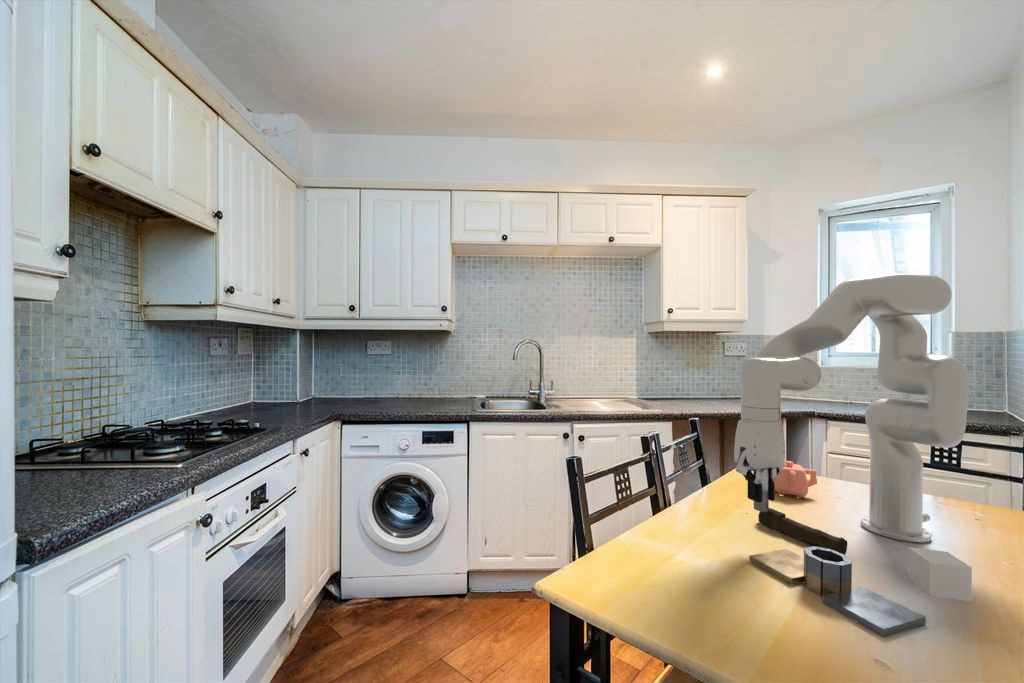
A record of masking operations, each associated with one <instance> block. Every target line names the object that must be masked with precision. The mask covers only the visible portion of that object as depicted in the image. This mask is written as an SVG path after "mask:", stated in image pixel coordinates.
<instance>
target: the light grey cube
mask: <svg viewBox="0 0 1024 683" xmlns="http://www.w3.org/2000/svg"><path fill="white" fill-rule="evenodd" d="M907 549H908V551H907V579H908V580H910V581H911V582H912V583H913V584H914V585H915V586H917V587H918V588H919V589H920V590H922V591H923V592H924V594H927V595H928V596H930V597H935V598H942V599H949V600H950V599H951V600H955V601H956V600H957V601H963V602H969V603H970V602H971V603H972V587H973V586H972V584H973V583H972V582H973V581H972V577H973V576H972V574H973V573H972V571H973V567H972V566H970V565H968V564H967V563H965V562H964V561H962V560H961V559H960V558H957V557H956V556H955V555H953V554H951V553H950V552H948V551H943V550H935V549H929V548H928V549H927V548H920V547H909V546H908V548H907Z"/></svg>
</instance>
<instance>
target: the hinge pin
mask: <svg viewBox="0 0 1024 683" xmlns="http://www.w3.org/2000/svg"><path fill="white" fill-rule="evenodd" d="M752 473H753V474H754V471H752ZM760 484H762V503H758V502H756V501H753V509H754V510H755V511H756V512H757V511H758V512H760V511H762V512H767V511H769V508H770V507H769V503H770V502H769V501H770V500H769V494H768V468H766V469H761V472H760Z"/></svg>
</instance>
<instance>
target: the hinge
mask: <svg viewBox="0 0 1024 683" xmlns="http://www.w3.org/2000/svg"><path fill="white" fill-rule="evenodd" d="M748 557H749V562H750V563H751V564H753V565H755V566H757V567H759V568H760V569H762V570H764V571H765V572H768V573H769V574H771V575H773V577H774V576H775V577H776V578H778V579H780V580H781V581H783V582H785V583H787V584H789V585H790V586H795V585H799V583H800V584H804V586H806V587H805V588H806V590H809V591H810V590H811V592H812V591H813V593H815V594H816V595H818V596H819V597H821V596H822V604H824V605H825V606H828V607H829V608H832V609H833V610H834V609H835V611H836V612H838V613H839V614H841V613H842V615H843V616H846V617H847V618H849V617H850V618H851V619H850V618H849V619H850V620H852V619H853V620H852V621H854V620H855V621H854V622H856V621H857V622H858V623H857V622H856V623H857V624H859V625H861V626H863V627H864V626H865V628H866V629H868V630H870V631H872V632H873V633H875V634H877V635H879V636H880V637H881V638H885V637H889V636H892V635H896V634H899V633H903V632H906V631H910V630H912V629H916V628H920V627H922V626H925V625H926V624H927V621H926V620H927V617H926V616H925V615H922V614H920V613H919V612H916V611H914V610H912V609H911V608H908V607H906V606H904V605H902V604H900V603H898V602H896V601H894V600H892V599H891V598H890V599H889V598H888V597H886V596H884V595H882V594H879V593H878V592H876V591H874V590H871V589H869V588H867V587H865V586H863V585H862V586H858V587H854V588H852V581H853V580H852V579H853V574H852V573H853V562H852V561H851V559H850V557H849V556H847V555H846V554H845V555H843V554H841V553H839V552H837V551H834V550H831V549H826V548H821V547H817V546H815V545H812V546H808V547H804V548H803V556H801V555H799V554H797V553H795V552H793V551H791V550H789V549H787V548H782V549H779V550H772V551H767V552H762V553H756V554H750V555H749V556H748ZM803 582H804V583H803ZM794 584H795V585H794Z"/></svg>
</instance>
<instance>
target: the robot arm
mask: <svg viewBox="0 0 1024 683" xmlns="http://www.w3.org/2000/svg"><path fill="white" fill-rule="evenodd" d="M952 294H953V292H952V288H951V286H950V285H949V283H948V282H947V281H946V280H944V279H943V278H941V277H939V276H937V275H931V274H930V275H929V274H912V273H911V274H910V273H909V274H908V273H881V274H877V275H876V274H875V275H869V276H862V277H861V276H859V277H855V278H850V279H847V280H844V281H842V282H840V283H839V284H838V285H837V286H835V288H834V289H833V290H832V291H831V292H830V294H828V295H827V296H826V298H825V299H824V300H823V302H822V303H821V304H820V305H818V307H817V308H816V309H815V310H814V311H813V313H811V315H810V316H809V317H808V318H807V319H805V320H804V321H801V322H800V323H797V324H796V325H793V326H791V327H790V328H789V329H787V330H786V331H784V332H782V333H780V334H779V335H777V336H775V337H774V338H773V339H771V340H770V341H768V342H767V343H766V344H765V345H764V347H763V348H762V349H761V350H760V351H759V352H758V354H757V355H756V356H755V357H747V358H744V359H742V360H741V362H740V363H741V364H740V419H739V420H738V421H737V425H736V429H735V437H734V450H733V454H734V455H733V460H734V464H735V465H736V467H735V471H736V472H737V473H739V474H741V475H742V476H743V477H744V479H745V481H747V498H748V499H749V500H751V501H752V502H754V501H756V502H758V503H762V484H760V472H761V469H766V468H768V494H769V501H774V502H775V494H776V493H775V492H776V491H775V482H776V481H777V475H778V473H779V472H780V470H782V469H783V468H784V467H785V461H786V442H785V441H786V440H785V434H784V429H783V428H784V426H783V423H782V391H791V392H807V391H810V390H812V389H814V388H816V387H818V385H819V384H820V382H821V380H822V370H821V368H820V366H819V364H818V363H817V362H815V361H814V360H812V359H810V358H807V357H804V355H807V354H810V353H815V352H819V351H822V350H826V349H829V348H832V347H835V346H838V345H840V344H842V343H843V342H845V341H846V340H847V339H848V338H849V336H850V335H851V334H852V333H853V332H854V330H856V328H857V327H858V326H859V324H860V323H861V322H862V321H863V320H864V319H865V318H866V317H869V319H871V321H872V323H874V325H875V326H876V327H877V330H878V333H879V349H878V350H879V352H878V362H877V372H876V375H877V379H876V380H877V383H878V385H879V387H880V388H881V389H882V390H884V391H886V392H890V393H894V394H900V395H910V396H918V397H927V399H928V400H927V402H925V401H924V402H923V401H916V400H907V399H897V398H880V399H876V400H874V401H872V402H871V403H870V404H868V406H867V407H866V410H865V417H864V418H865V424H866V425H865V426H866V429H867V433H868V439H869V452H870V453H869V500H868V501H869V506H868V508H869V513H868V516H863V517H861V519H860V525H861V526H862V527H863V528H865V529H867V530H868V531H870V532H872V533H874V534H877V535H880V536H884V537H887V538H890V539H893V540H899V541H903V542H910V543H928V542H930V541H932V534H931V532H930V531H929V530H927V529H926V528H924V527H923V523H926V522H930V520H931V516H930V515H929V514H928V513H926V512H923V509H924V508H923V506H924V505H923V502H924V501H923V500H924V498H923V497H924V495H923V494H924V487H923V486H924V462H923V461H924V460H923V457H922V455H921V452H920V451H919V449H918V448H917V446H916V444H918V445H919V444H920V445H924V446H930V447H934V448H935V447H936V448H942V449H943V448H944V449H946V448H947V449H949V448H953V447H956V446H958V445H959V444H960V443H961V442H962V441H963V439H964V436H965V432H966V428H967V427H966V426H967V416H968V405H969V394H970V393H969V392H970V376H969V371H968V370H967V367H966V365H965V364H964V363H963V362H962V360H959V359H958V358H956V357H953V356H950V355H940V354H935V355H934V354H928V333H927V331H926V328H925V327H924V326H923V324H921V322H920V321H919V320H918V319H917V318H916V317H915V316H919V315H920V316H921V315H923V316H924V315H934V314H938V313H941V312H942V311H944V310H945V309H946V308H947V307H948V306H949V304H950V303H951V301H952V297H953V296H952ZM753 471H754V474H753Z"/></svg>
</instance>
